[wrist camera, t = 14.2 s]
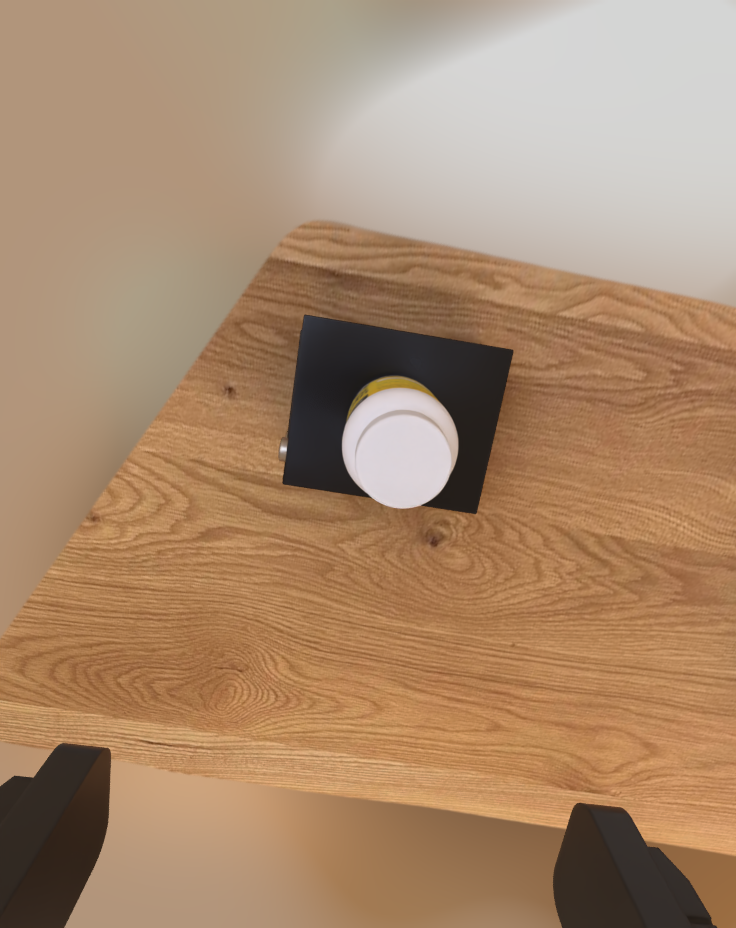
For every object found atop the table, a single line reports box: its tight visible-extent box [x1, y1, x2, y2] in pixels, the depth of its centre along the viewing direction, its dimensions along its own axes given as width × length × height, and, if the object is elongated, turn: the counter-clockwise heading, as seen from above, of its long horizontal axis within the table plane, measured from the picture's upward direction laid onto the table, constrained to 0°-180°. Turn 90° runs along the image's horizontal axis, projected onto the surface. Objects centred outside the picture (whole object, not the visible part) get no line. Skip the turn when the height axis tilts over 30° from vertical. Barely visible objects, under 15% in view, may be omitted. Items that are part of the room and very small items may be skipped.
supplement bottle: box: [342, 376, 458, 509], centre depth 26 cm, size 5×5×10 cm
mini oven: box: [279, 315, 513, 514], centre depth 35 cm, size 13×10×8 cm
